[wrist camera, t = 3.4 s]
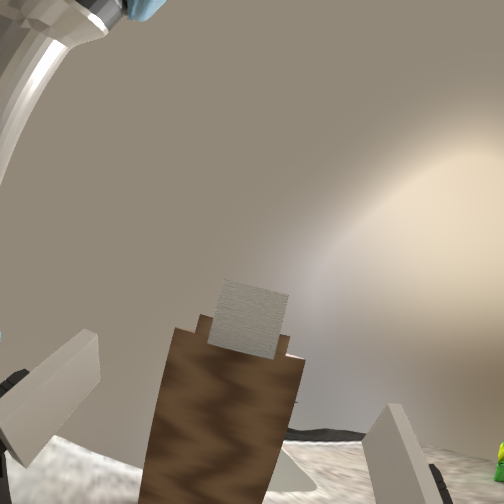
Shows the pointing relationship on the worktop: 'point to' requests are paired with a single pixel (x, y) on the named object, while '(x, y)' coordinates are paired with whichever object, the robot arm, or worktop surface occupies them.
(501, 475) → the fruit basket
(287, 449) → the worktop surface
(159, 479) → the column
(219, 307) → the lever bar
